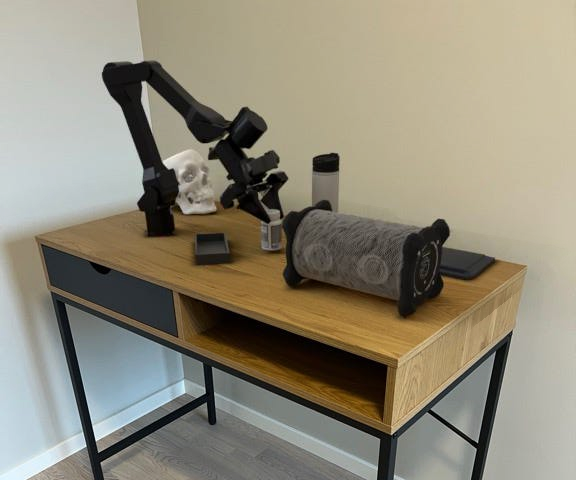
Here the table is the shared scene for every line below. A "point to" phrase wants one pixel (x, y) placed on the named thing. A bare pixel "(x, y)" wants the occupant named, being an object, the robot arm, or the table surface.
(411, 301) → the speaker
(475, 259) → the wallet
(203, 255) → the pen tray
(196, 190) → the white skull model
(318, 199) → the travel mug
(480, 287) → the table surface
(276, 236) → the pill bottle
